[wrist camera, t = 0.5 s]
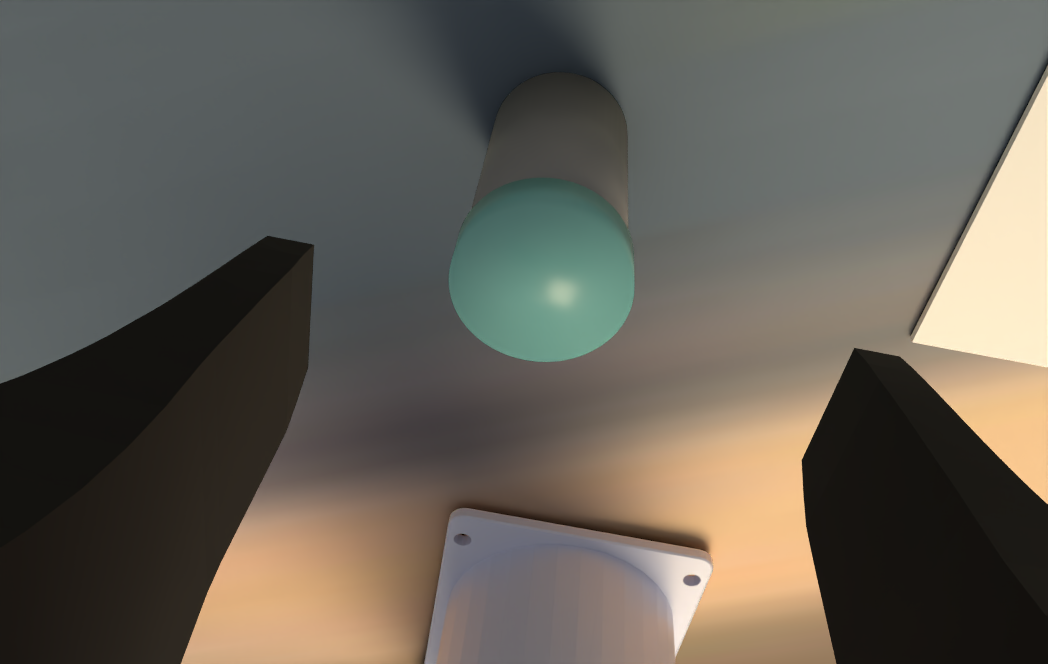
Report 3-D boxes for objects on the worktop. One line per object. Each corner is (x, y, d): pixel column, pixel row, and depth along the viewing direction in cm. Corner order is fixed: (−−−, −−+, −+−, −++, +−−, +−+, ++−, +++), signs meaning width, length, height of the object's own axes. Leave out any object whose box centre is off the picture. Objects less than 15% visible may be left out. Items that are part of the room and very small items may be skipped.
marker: (614, 212, 22) (611, 375, 17) (480, 186, 22) (439, 344, 17) (647, 83, 21) (654, 225, 16) (500, 54, 21) (460, 189, 16)
